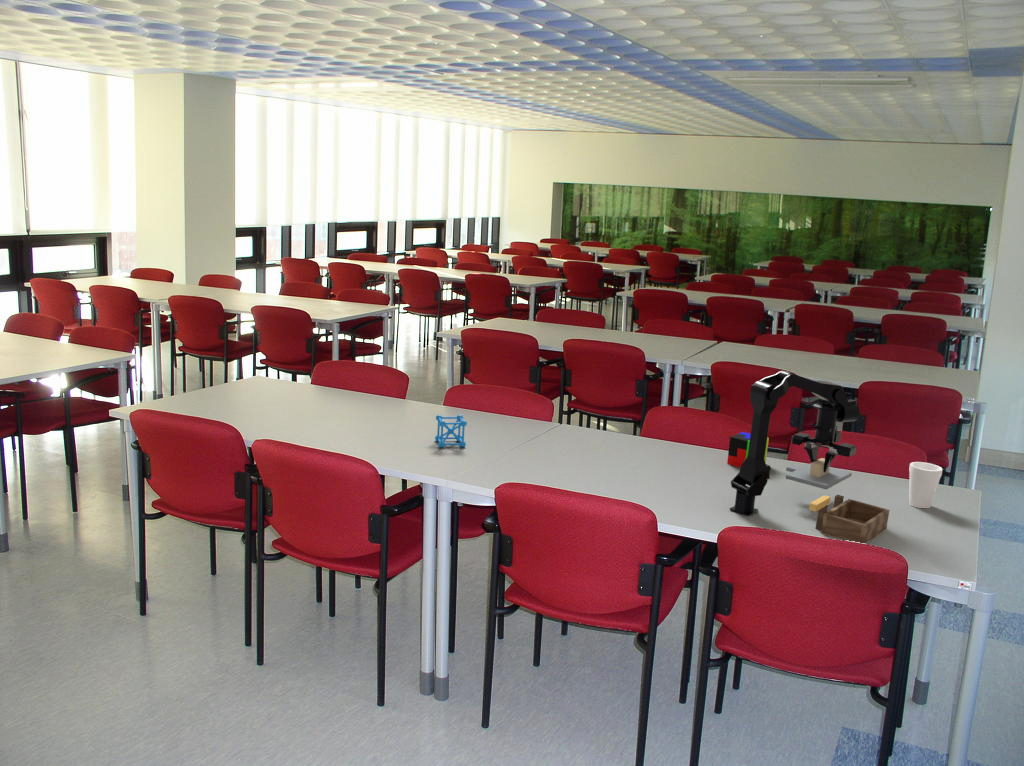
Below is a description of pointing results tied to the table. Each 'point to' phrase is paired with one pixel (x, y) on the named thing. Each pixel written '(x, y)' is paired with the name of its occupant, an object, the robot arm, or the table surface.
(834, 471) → the lid
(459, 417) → the molecular structure
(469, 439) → the table surface
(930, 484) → the foam cup
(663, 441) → the table surface
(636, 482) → the table surface
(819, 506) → the yellow wooden bar
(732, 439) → the puzzle toy
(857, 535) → the brown wooden box
